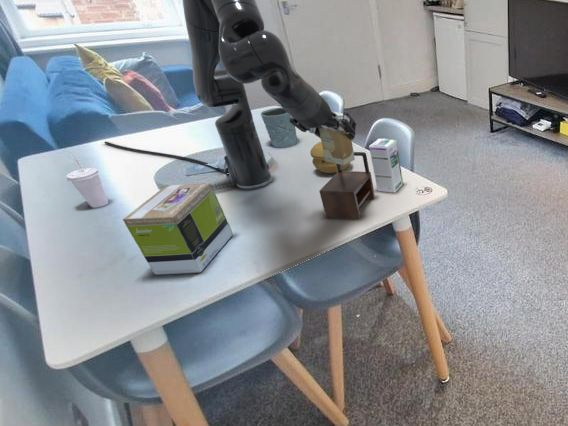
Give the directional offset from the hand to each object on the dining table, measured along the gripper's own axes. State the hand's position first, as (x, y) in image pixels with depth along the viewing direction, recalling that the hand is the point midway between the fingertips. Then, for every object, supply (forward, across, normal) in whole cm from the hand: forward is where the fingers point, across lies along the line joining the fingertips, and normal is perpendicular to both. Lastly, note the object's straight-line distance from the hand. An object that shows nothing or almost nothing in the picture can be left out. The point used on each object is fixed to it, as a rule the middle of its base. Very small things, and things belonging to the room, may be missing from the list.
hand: (337, 135), depth 107 cm
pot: (+30, +15, -1) cm, 33 cm away
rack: (+14, 0, +15) cm, 20 cm away
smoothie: (+11, +70, +18) cm, 73 cm away
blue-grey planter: (+45, +43, -16) cm, 64 cm away
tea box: (-3, +27, +32) cm, 42 cm away
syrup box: (+22, -7, +6) cm, 24 cm away
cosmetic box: (+4, 0, +5) cm, 7 cm away
